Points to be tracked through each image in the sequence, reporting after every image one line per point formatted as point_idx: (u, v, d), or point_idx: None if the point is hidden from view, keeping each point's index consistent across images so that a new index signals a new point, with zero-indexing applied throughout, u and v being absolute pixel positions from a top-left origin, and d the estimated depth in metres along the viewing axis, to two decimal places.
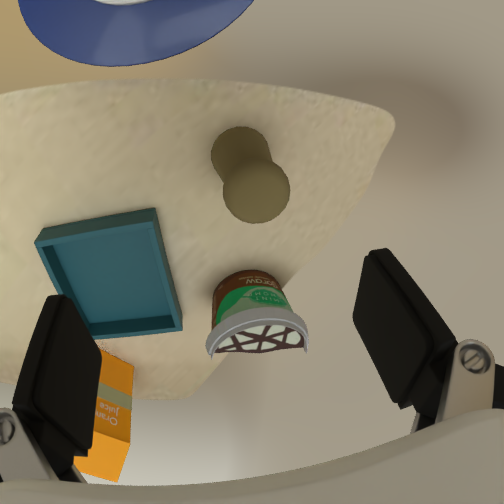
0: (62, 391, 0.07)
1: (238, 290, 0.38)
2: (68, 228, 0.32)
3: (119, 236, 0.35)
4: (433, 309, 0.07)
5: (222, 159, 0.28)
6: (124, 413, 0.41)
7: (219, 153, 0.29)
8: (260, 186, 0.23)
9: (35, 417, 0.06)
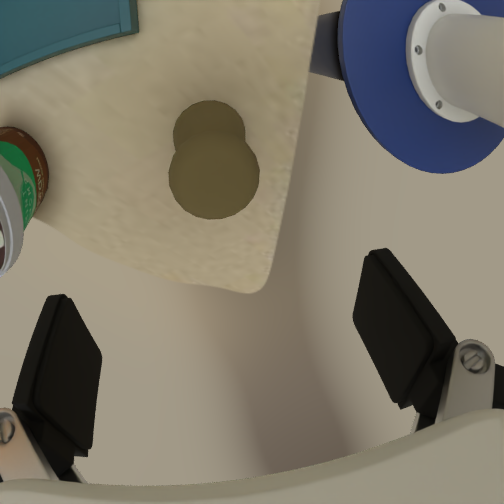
0: (62, 391, 0.07)
1: (26, 162, 0.20)
2: None
3: None
4: (433, 309, 0.07)
5: (225, 119, 0.21)
6: None
7: (225, 113, 0.22)
8: (236, 185, 0.17)
9: (35, 417, 0.06)
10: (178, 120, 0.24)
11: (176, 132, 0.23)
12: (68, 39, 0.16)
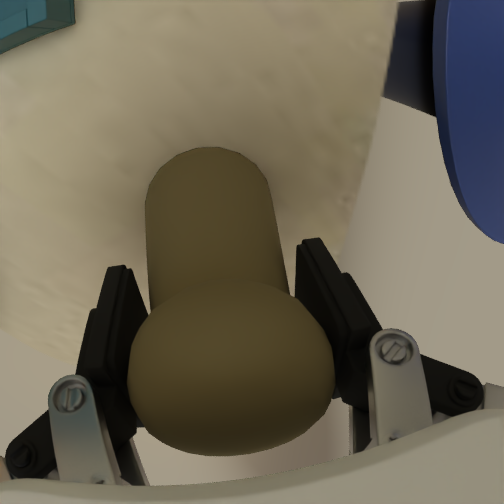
0: (129, 356, 0.08)
1: None
2: None
3: None
4: (352, 296, 0.08)
5: (244, 206, 0.11)
6: None
7: (241, 183, 0.12)
8: (289, 429, 0.07)
9: (106, 382, 0.07)
10: (152, 186, 0.13)
11: (147, 216, 0.13)
12: None
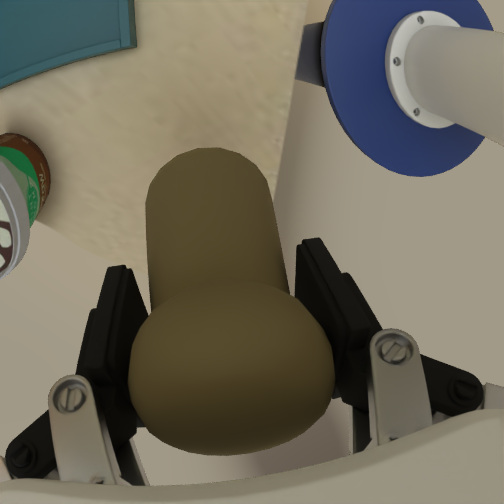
0: (129, 356, 0.08)
1: (31, 167, 0.22)
2: None
3: (102, 3, 0.18)
4: (352, 296, 0.08)
5: (245, 207, 0.11)
6: None
7: (241, 183, 0.12)
8: (290, 428, 0.07)
9: (106, 382, 0.07)
10: (152, 186, 0.13)
11: (148, 216, 0.13)
12: (72, 53, 0.18)
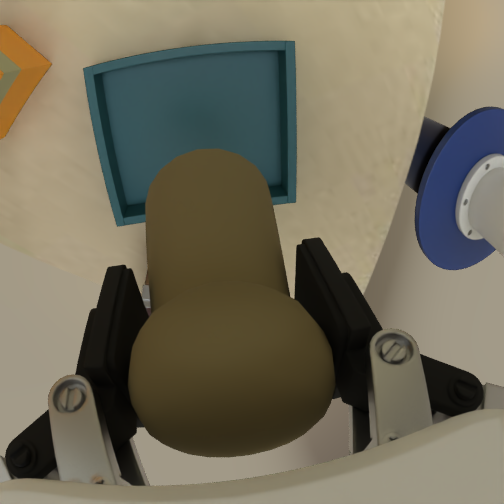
0: (129, 356, 0.08)
1: None
2: None
3: (261, 147, 0.29)
4: (352, 296, 0.08)
5: (244, 208, 0.11)
6: None
7: (241, 185, 0.12)
8: (289, 430, 0.07)
9: (106, 382, 0.07)
10: (152, 188, 0.13)
11: (148, 217, 0.13)
12: None
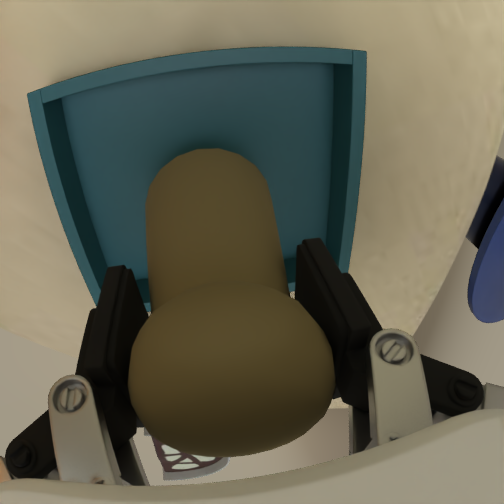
0: (129, 356, 0.08)
1: None
2: None
3: (302, 205, 0.20)
4: (352, 296, 0.08)
5: (244, 208, 0.11)
6: None
7: (241, 184, 0.12)
8: (290, 430, 0.07)
9: (106, 382, 0.07)
10: (152, 187, 0.13)
11: (148, 217, 0.13)
12: None
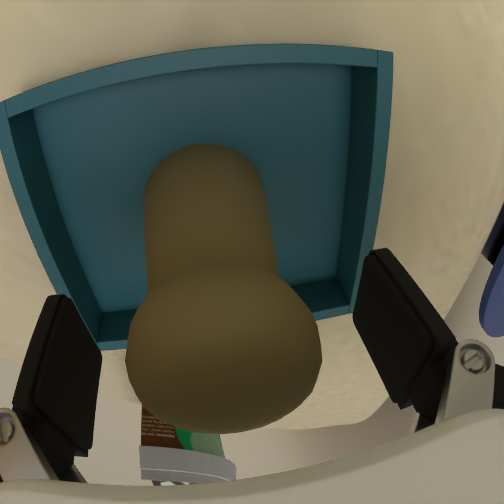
0: (62, 391, 0.07)
1: None
2: None
3: (312, 228, 0.18)
4: (433, 309, 0.07)
5: (237, 197, 0.11)
6: None
7: (234, 176, 0.12)
8: (278, 404, 0.07)
9: (35, 417, 0.06)
10: (150, 181, 0.14)
11: (146, 209, 0.13)
12: None
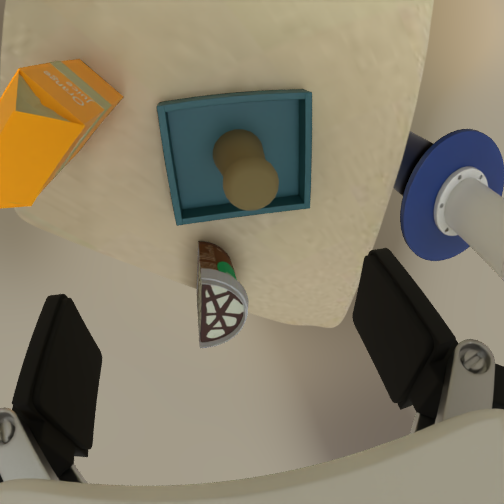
0: (62, 391, 0.07)
1: (234, 272, 0.43)
2: None
3: (284, 167, 0.39)
4: (433, 309, 0.07)
5: (253, 145, 0.33)
6: (55, 173, 0.26)
7: (252, 140, 0.34)
8: (266, 189, 0.29)
9: (35, 417, 0.06)
10: (217, 143, 0.35)
11: (217, 152, 0.35)
12: (272, 208, 0.39)
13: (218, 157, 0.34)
